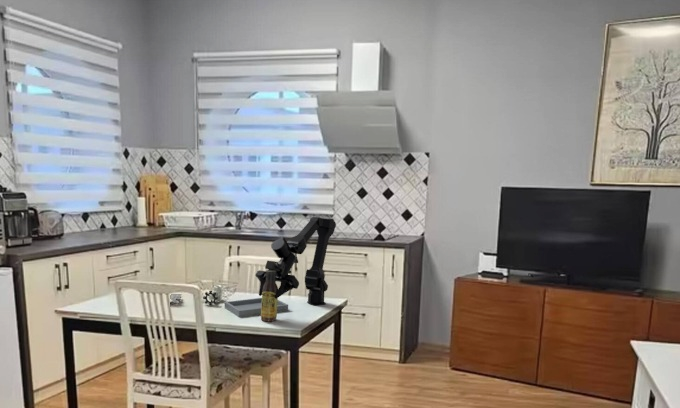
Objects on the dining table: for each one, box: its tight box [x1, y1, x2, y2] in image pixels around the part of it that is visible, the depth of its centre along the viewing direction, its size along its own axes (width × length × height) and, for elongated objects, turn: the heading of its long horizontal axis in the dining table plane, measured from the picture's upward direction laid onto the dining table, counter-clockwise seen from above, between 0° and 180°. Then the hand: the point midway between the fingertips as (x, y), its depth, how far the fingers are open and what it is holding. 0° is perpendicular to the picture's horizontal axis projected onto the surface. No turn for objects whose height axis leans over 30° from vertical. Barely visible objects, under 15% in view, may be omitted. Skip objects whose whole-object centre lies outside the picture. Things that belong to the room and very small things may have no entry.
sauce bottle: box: [260, 269, 279, 322], centre depth 198 cm, size 6×6×20 cm
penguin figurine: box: [170, 294, 183, 305], centre depth 225 cm, size 6×8×12 cm
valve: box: [202, 284, 223, 306], centre depth 225 cm, size 7×7×12 cm
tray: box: [224, 297, 289, 318], centre depth 215 cm, size 22×17×2 cm
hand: (267, 296), depth 197 cm, fingers open, 8 cm apart
